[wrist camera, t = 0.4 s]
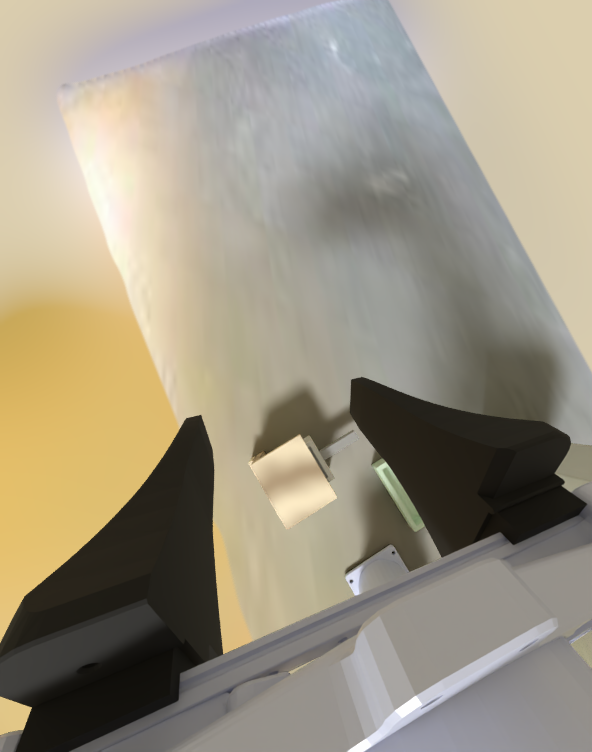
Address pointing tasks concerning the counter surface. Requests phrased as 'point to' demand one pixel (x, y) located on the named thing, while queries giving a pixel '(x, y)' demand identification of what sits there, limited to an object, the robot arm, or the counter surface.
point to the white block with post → (329, 451)
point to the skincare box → (576, 466)
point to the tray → (398, 494)
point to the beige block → (292, 481)
